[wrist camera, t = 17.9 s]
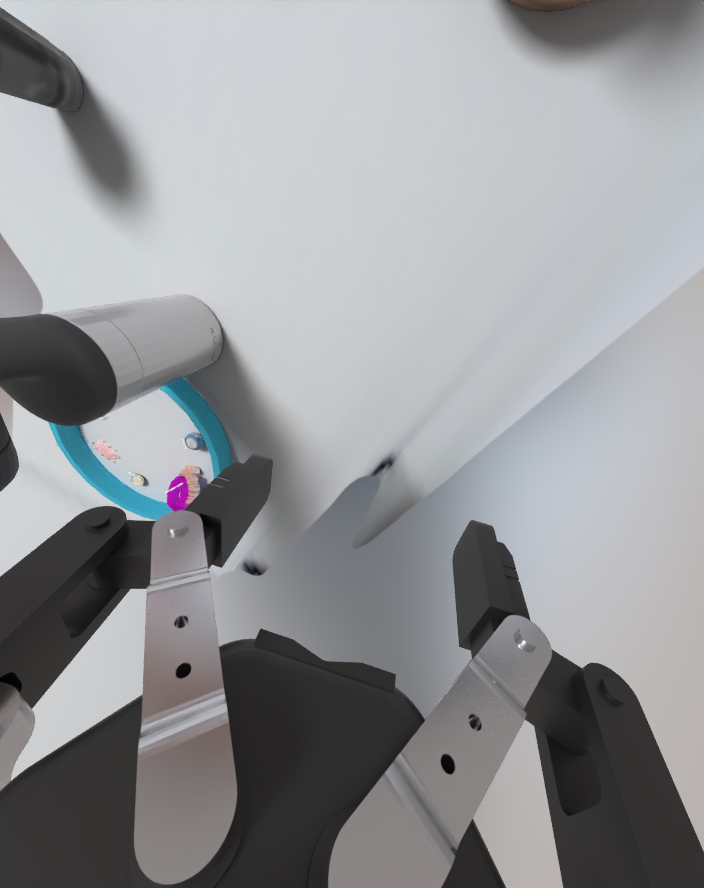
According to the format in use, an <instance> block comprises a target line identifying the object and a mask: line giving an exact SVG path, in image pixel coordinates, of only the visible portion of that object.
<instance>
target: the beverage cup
mask: <svg viewBox="0 0 704 888" xmlns="http://www.w3.org/2000/svg"><path fill="white" fill-rule="evenodd" d="M0 92H1V93H5V94H8V95H11V96H15V97H18V98H22V99H25V100H28V101H32V102H35V103H38V104H42V105H45V106H49V107H52V108H58V109H63V110H66V111H75V110H77V109H79V107H80V105H81V104H82V99H83V85H82V81H81V77H80V74H79V72H78V70H77V68H76V66H75V64H74V63H73V61H72V60H71V59H70V57H69V56H67V55H66V54H65V53H64V52H63V51H61V50H59V49H58V48H57V47H56V46H54V45H53V44H51V43H50V42H49V41H48V40H47V39H45V38H44V37H43V36H41V35H40V34H38V33H37V32H35V31H34V30H32V29H31V28H29V27H28V26H27V25H25V24H24V23H22V22H21V21H19V20H18V19H16V18H15V17H14V16H12V15H11V14H9V13H8V12H6V11H5V10H3V9H2V8H0Z"/></svg>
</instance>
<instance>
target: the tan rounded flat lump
mask: <svg viewBox="0 0 704 888" xmlns="http://www.w3.org/2000/svg"><path fill="white" fill-rule="evenodd" d="M509 1H511V2H513V3H515V4H517V5H518V6H520V7H524V8H527V9H530V10H536V11H557V10H564V9H567V8H571V7H574V6H578V5H580V4H583V3H585V2H587V1H589V0H509Z"/></svg>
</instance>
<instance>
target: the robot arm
mask: <svg viewBox="0 0 704 888" xmlns="http://www.w3.org/2000/svg"><path fill="white" fill-rule="evenodd" d="M222 346H223V337H222V331H221V328H220V325H219V323H218V321H217V319H216V317H215V316H214V314H213V313H212V311H211V310H210V309H209V308H208V307H207V306H206V305H205V304H203V303H202V302H201V301H199V300H198V299H196V298H193V297H191V296H187V295H175V296H167V297H160V298H152V299H145V300H138V301H131V302H124V303H117V304H109V305H102V306H95V307H88V308H81V309H74V310H68V311H61V312H54V313H47V314H38V315H31V316H24V317H12V318H0V387H2V389H3V390H5V392H7V393H8V394H9V395H10V396H11V397H12V398H13V399H14V400H15V401H16V402H17V403H19V404H20V405H21V406H22V407H24V408H25V409H26V410H28V411H29V412H31V413H32V414H34V415H36V416H38V417H39V418H41V419H43V420H46V421H48V422H51V423H54V424H57V425H62V426H78V425H83V424H86V423H88V422H91V421H93V420H95V419H97V418H99V417H101V416H103V415H106V414H108V413H110V412H112V411H114V410H116V409H118V408H120V407H123V406H125V405H127V404H129V403H131V402H133V401H135V400H137V399H139V398H141V397H143V396H145V395H147V394H149V393H152V392H154V391H156V390H158V389H160V388H162V387H164V386H166V385H168V384H170V383H173V382H175V381H177V380H179V379H181V378H183V377H185V376H187V375H189V374H191V373H194V372H196V371H198V370H200V369H202V368H204V367H206V366H208V365H210V364H212V363H214V362H215V361H216V360H217V359H218V357H219V356H220V354H221V351H222ZM272 465H273V461H272V459H269V458H266V457H263V456H259V455H256V454H253V455H252V456H251V457H250V458H249V459H248V460H247V461H246V462H245V463H244V464H241V463H238V462H236V463H234V464H232V465H230V466H228V467H226V468H224V469H223V470H222V471H221V473H220V474H219V475H218V476H217V478H215V479H214V480H213V481H212V482H211V483H210V485H208V486H207V487H206V488H205V489H204V490H203V491H202V492H201V493H200V494H199V495H198V496H197V497H196V498H195V499H194V500H193V501H192V502H191V503H190V504H189V505H188V506H187V507H186V508H185V509H184V510H183V511H174V512H171V513H168V514H166V515H164V516H162V517H161V518H159V519H158V520H157V521H135V520H127V518H126V514H125V512H124V511H123V510H121V509H119V508H117V507H112V506H102V507H96V508H92V509H89V510H87V511H84V512H83V513H81V514H79V515H78V516H76V517H75V518H74V519H72V520H71V521H70V522H69V523H67V524H66V525H65V526H64V527H63V528H61V529H60V530H59V531H57V532H56V533H55V534H54V535H52V536H51V537H50V538H48V539H47V540H46V541H45V542H43V543H42V544H41V545H40V546H38V547H37V548H36V549H35V550H34V551H32V552H31V553H30V554H28V555H27V556H26V557H25V558H23V559H22V560H21V561H20V562H18V563H17V564H16V565H15V566H13V567H12V568H11V569H9V570H8V571H7V572H6V573H4V574H3V575H2V576H1V577H0V888H506V887H505V884H504V882H503V880H502V878H501V876H500V874H499V872H498V870H497V868H496V866H495V864H494V862H493V860H492V857H491V855H490V853H489V851H488V849H487V847H486V845H485V843H484V841H483V839H482V837H481V834H480V832H479V830H478V829H477V826H476V824H475V822H474V820H473V816H474V815H475V813H476V811H477V809H478V807H479V805H480V803H481V801H482V799H483V797H484V796H485V794H486V792H487V790H488V788H489V786H490V784H491V782H492V780H493V779H494V777H495V775H496V773H497V771H498V769H499V767H500V765H501V763H502V762H503V760H504V758H505V756H506V754H507V752H508V750H509V748H510V747H511V744H512V743H513V741H514V739H515V737H516V735H517V733H518V731H519V730H520V728H521V726H522V724H523V722H524V720H527V721H528V722H530V723H531V724H532V725H534V727H535V732H536V738H537V744H538V749H539V754H540V760H541V766H542V771H543V777H544V782H545V788H546V793H547V799H548V805H549V810H550V816H551V821H552V827H553V832H554V838H555V844H556V849H557V855H558V860H559V865H560V871H561V876H562V882H563V888H704V852H703V849H702V847H701V845H700V842H699V840H698V837H697V835H696V833H695V831H694V828H693V826H692V824H691V821H690V819H689V817H688V814H687V812H686V810H685V807H684V805H683V803H682V800H681V798H680V796H679V793H678V791H677V789H676V786H675V784H674V782H673V780H672V777H671V775H670V772H669V770H668V768H667V766H666V763H665V761H664V758H663V756H662V754H661V752H660V749H659V747H658V745H657V742H656V740H655V738H654V735H653V733H652V731H651V728H650V726H649V724H648V721H647V719H646V717H645V714H644V712H643V710H642V708H641V705H640V703H639V701H638V699H637V697H636V695H635V694H634V692H633V691H632V689H631V688H630V686H629V685H628V684H627V683H626V682H625V681H624V680H623V679H622V678H621V677H620V676H619V675H618V674H616V673H615V672H614V671H612V670H611V669H609V668H608V667H606V666H603V665H601V664H598V663H590V664H587V665H586V666H585V667H584V668H580V667H579V666H577V665H575V664H574V663H572V662H571V661H569V660H568V659H566V658H564V657H563V656H561V655H559V654H558V653H557V652H555V651H553V650H552V649H551V646H550V643H549V641H548V639H547V637H546V636H545V634H544V633H543V632H542V631H541V629H540V628H539V627H538V626H537V625H535V624H534V623H533V622H531V620H530V617H529V613H528V610H527V606H526V603H525V599H524V596H523V592H522V589H521V585H520V582H519V581H518V580H519V578H518V574H517V571H515V570H516V567H515V564H514V560H513V557H512V555H511V554H510V552H509V551H508V549H507V548H506V546H505V545H504V544H503V543H500V542H497V540H496V535H495V531H494V528H493V526H490V525H487V524H484V523H481V522H477V521H474V520H471V521H470V522H469V524H468V526H467V527H466V529H465V531H464V533H463V535H462V537H461V538H460V540H459V542H458V544H457V545H456V548H455V551H454V554H453V573H454V585H455V599H456V611H457V624H458V636H459V647H462V648H465V649H468V650H471V654H472V660H471V661H470V662H469V664H468V665H467V666H466V667H465V669H464V670H463V671H462V673H461V674H460V675H459V676H458V677H457V679H456V680H455V682H454V683H453V684H452V685H451V686H450V688H449V689H448V690H447V691H446V693H445V694H444V695H443V696H442V698H441V699H440V700H439V702H438V703H437V704H436V705H435V707H434V708H433V709H432V710H431V712H430V713H429V714H428V715H427V716H426V718H425V719H424V718H423V716H422V715H421V713H420V712H419V710H418V709H417V708H416V706H415V705H414V704H413V703H412V701H410V699H409V698H408V697H407V696H406V695H405V694H404V693H402V692H401V691H400V690H398V689H397V688H396V687H395V677H396V675H395V674H393V673H390V672H387V671H384V670H381V669H379V668H375V667H373V666H370V665H367V664H364V663H352V662H328V661H324V660H322V659H320V658H319V657H318V656H316V655H315V654H313V653H311V652H310V651H309V650H307V649H306V648H304V647H303V646H302V645H300V644H299V643H297V642H296V641H294V640H293V639H290V638H287V637H284V636H281V635H278V634H275V633H272V632H269V631H266V630H263V629H260V631H259V633H258V635H257V638H256V639H243V640H238V641H233V642H230V643H227V644H224V645H222V646H220V647H219V645H218V636H217V628H216V620H215V612H214V604H213V596H212V588H211V579H210V573H209V571H208V569H209V568H210V566H211V565H215V566H218V567H221V568H222V567H223V565H224V564H225V562H226V561H227V559H228V558H229V556H230V555H231V553H232V552H233V550H234V549H235V547H236V546H237V544H238V543H239V541H240V540H241V538H242V537H243V535H244V534H245V532H246V531H247V529H248V528H249V526H250V525H251V523H252V522H253V520H254V519H255V517H256V516H257V515H258V513H259V512H260V510H261V509H262V507H263V506H264V504H265V502H266V500H267V498H268V496H269V492H270V486H271V476H272ZM18 468H19V462H18V456H17V452H16V449H15V447H14V445H13V442H12V440H11V437H10V435H9V432H8V430H7V427H6V425H5V423H4V421H3V418H2V416H1V414H0V491H2V490H3V489H4V488H5V487H6V486H7V485H8V484H9V483H10V482H11V481H12V480H13V479H14V477H15V475H16V473H17V471H18ZM146 588H147V600H146V624H145V649H144V650H145V651H144V674H143V695H141V696H140V697H138V698H136V699H135V700H133V701H132V702H130V703H129V704H127V705H125V706H124V707H122V708H121V709H119V710H118V711H116V712H114V713H113V714H111V715H110V716H108V717H107V718H105V719H103V720H102V721H100V722H99V723H97V724H96V725H94V726H93V727H91V728H89V729H88V730H86V731H85V732H83V733H82V734H80V735H78V736H77V737H75V738H74V739H72V740H71V741H69V742H67V743H66V744H64V745H63V746H61V747H60V748H58V749H57V750H55V751H53V752H52V753H51V754H49V755H47V756H46V757H44V758H42V759H41V760H40V761H38V762H36V763H35V764H33V765H32V766H30V767H29V768H27V769H26V770H24V771H23V772H22V773H20V774H19V775H18V776H17V777H15V778H14V779H13V780H12V781H11V775H12V771H13V768H14V765H15V763H16V761H17V759H18V757H19V755H20V754H21V752H22V750H23V749H24V747H25V745H26V744H27V743H28V741H29V739H30V737H31V735H32V732H33V729H34V725H35V716H34V712H33V711H32V708H33V707H34V706H35V704H36V703H37V702H38V701H39V699H40V698H41V697H42V696H43V695H44V693H45V692H46V691H47V690H48V689H49V687H50V686H51V685H52V684H53V683H54V681H55V680H56V679H57V678H58V676H59V675H60V674H61V673H62V672H63V670H64V669H65V668H66V667H67V666H68V664H69V663H70V662H71V661H72V660H73V658H74V657H75V656H76V655H77V653H78V652H79V651H80V650H81V649H82V647H83V646H84V645H85V644H86V642H87V641H88V640H89V639H90V638H91V636H92V635H93V634H94V633H95V632H96V630H97V629H98V628H99V627H100V626H101V624H102V623H103V622H104V621H105V619H106V618H107V617H108V616H109V615H110V613H111V612H112V611H113V610H114V609H115V607H116V606H117V605H118V603H119V602H120V601H121V600H122V599H123V598H124V596H125V595H126V594H127V593H128V592H129V590H130V589H146Z"/></svg>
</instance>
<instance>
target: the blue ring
mask: <svg viewBox="0 0 704 888" xmlns="http://www.w3.org/2000/svg"><path fill="white" fill-rule="evenodd" d="M160 389H161V390H162V391H163V392H165V393H166V394H168V395H169V396H170V397H171V398H172V399H173V400H174V401H175V402H176V403H177V404H178V405H179V406H180V407H181V408H182V409H183V410H184V411H185V412H186V413H187V414H188V416H189V417H190V419H191V420H192V422H193V423H194V425H195V426H196V427H197V429H198V430H199V432H200V433H201V435H202V436H201V435H200V434H197V433H191V434H189V435H187V436H186V438H185V441H184V439H183V438H182V439H183V441H184V446H185V448H186V450H187V447H186V445H187V446H188V447H189V448H190V449H193V450H198V449H199V448H201V447H202V446H203V443H204V441H205V444H206V446H207V448H208V451H209V453H210V455H211V459H212V466H213V472H214V479H215V478H217V476H218V475H219V474H220V473H221V471H222V470H223V469H224V468H226V467H228V466H230V465H232V463H231V455H230V446H229V444H228V441H227V439H226V436H225V433H224V431H223V428H222V426H221V423H220V422H219V420H218V419H217V417H216V416H215V414H214V413H213V411H212V410H211V408H210V407H209V405H208V404H207V402H206V401H205V400H204V399H203V398H202V397H201V396H200V395H199V394H198V393H197V392H196V391H195V390H194V389H193V388H192V387H191V386H190V384H189V383H188V382H187V381H185V380H184V379H183V378H181V379H179V380H177V381H175V382H173V383H170V384H168V385H166V386H164V387H162V388H160ZM151 401H152V400H151ZM104 417H107V416H104ZM104 417H103V418H104ZM100 419H102V417H101V418H99V420H100ZM49 425H50V428H51V430H52V432H53V435H54V437H55V439H56V442H57V444H58V446H59V447H60V449H61V450H62V452H63V453H64V455H65V456H66V458H67V459H68V461H69V462H70V464H71V465H72V466H73V467H74V468H75V469H76V470H77V471H78V472H79V474H80V475H81V476H82V477H83V478H84V479H85V480H86V481H87V482H88V483H89V484H90V485H91V486H93V487H94V488H95V489H96V490H97V491H99V492H100V493H101V494H102V495H103V496H105V497H106V498H108V499H109V500H111V501H113V502H114V503H116V504H117V505H119V506H121V507H122V508H124V509H126V510H128V511H131V512H133V513H135V514H138V515H140V516H142V517H145V518H150V519H154V520H158V519H159V518H161V517H162V516H164V515H166V514H168V513H171V512H174V511H183V510H184V509H185V508H186V507H187V506H188V505H189V504H190V503H191V502H192V501H193V500H194V499H195V498H196V497H197V496H198V495H199V494H198V492H199V491H200V487H199V486H200V485H198V484H199V483H198V479H199V478H198V477H197V475H194V474H199V473H200V469H199V467H193V466H185V469H184V470H182V473H181V474H179V475H182V476H178V477H176V478H175V479H174V480H173V481H172V482H171V484H170V486H169V489H168V491H166V493H167V503H163V502H159V501H156V500H153V499H151V498H149V497H146V496H144V495H141V494H139V493H138V492H136V491H134V490H133V489H131V488H130V487H128V486H127V485H125V484H123V483H122V482H121V481H120V480H118V479H117V478H116V477H115V476H114V475H113V474H111V473H110V472H109V471H108V470H107V469H106V468H105V467H104V466H103V465H102V464H101V462H100V461H99V460H98V459H97V458H96V457H95V455H94V454H93V453H92V452H91V450H90V448H89V447H88V445H87V443H86V442H85V440H84V439H83V437H82V435H81V433H80V430H79V427H78V426H62V425H57V424H54V423H51V422H49ZM202 437H203V438H202ZM203 439H204V441H203ZM103 442H105V441H103ZM96 443H97V444H96V445H98V448H99V449H100V450H99V451H100V453H102V454H101V455H102V456H103V455H104V456H105V457H106V458H107V459H108V460H109V459H110V458H112V459H115V458H117V457H116V456H117V455H116V454H115V453H114V452H113V451H111V450H110V449H109V448H110V446H109V448H108V447H107V446H105V445H104V444H103V443H102V442H96ZM185 443H186V444H185ZM92 444H94V442H92ZM95 449H97V448H95ZM115 451H117V450H116V449H115ZM118 458H120V457H118ZM114 463H115V461H114ZM128 473H129V474H131V475H134V474H132V473H130V472H128ZM131 479H132V482H133V483H134V484H136V485H138V486H141V485H143V484H144V478H143V476H141V475H138V474H137V475H134V476H132V477H131ZM166 493H164V494H166ZM179 493H180V497H179ZM194 496H196V497H194Z"/></svg>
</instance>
